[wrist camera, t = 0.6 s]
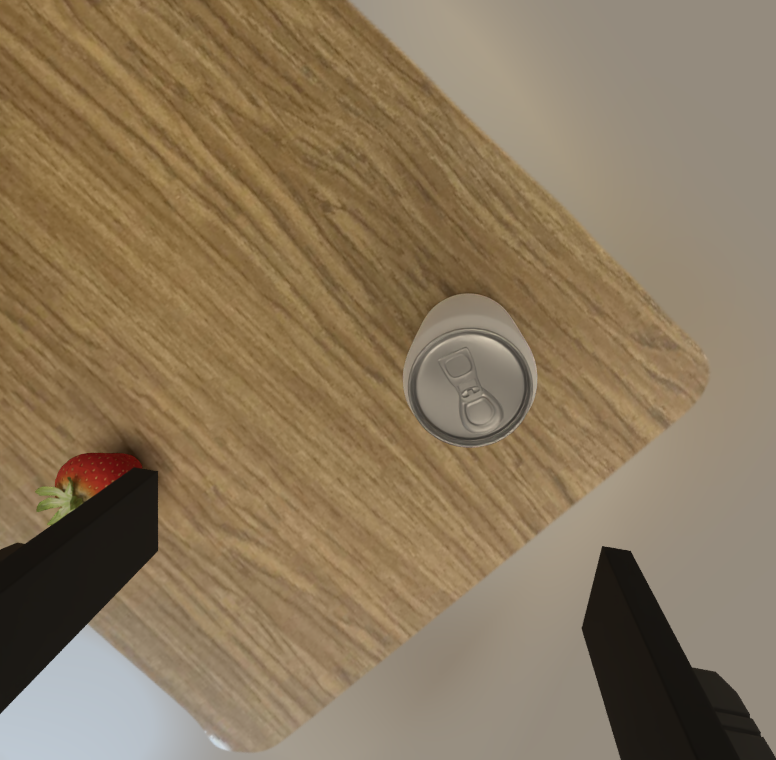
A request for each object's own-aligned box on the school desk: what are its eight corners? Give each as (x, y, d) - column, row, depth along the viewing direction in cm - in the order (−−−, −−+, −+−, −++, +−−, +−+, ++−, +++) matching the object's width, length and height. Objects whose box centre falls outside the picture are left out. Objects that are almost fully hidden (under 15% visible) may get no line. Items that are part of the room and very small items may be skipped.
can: (443, 403, 37) (435, 476, 26) (401, 318, 36) (374, 355, 25) (533, 364, 36) (566, 424, 24) (492, 275, 35) (507, 293, 23)
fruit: (88, 463, 42) (5, 513, 35) (125, 417, 41) (47, 458, 33) (138, 507, 43) (67, 565, 35) (177, 463, 41) (112, 514, 34)
